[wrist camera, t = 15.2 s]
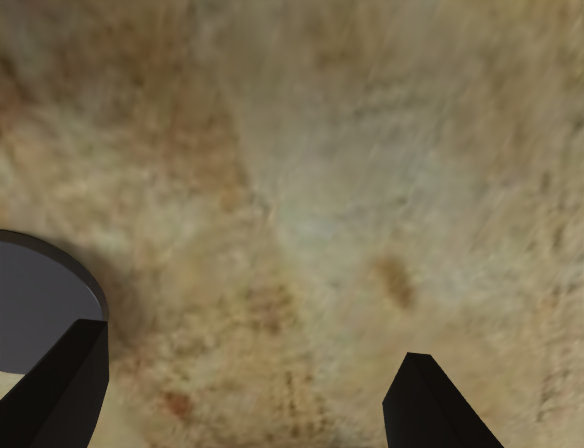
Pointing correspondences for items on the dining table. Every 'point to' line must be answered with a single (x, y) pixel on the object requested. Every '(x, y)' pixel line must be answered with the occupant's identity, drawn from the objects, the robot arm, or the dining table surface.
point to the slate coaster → (40, 299)
